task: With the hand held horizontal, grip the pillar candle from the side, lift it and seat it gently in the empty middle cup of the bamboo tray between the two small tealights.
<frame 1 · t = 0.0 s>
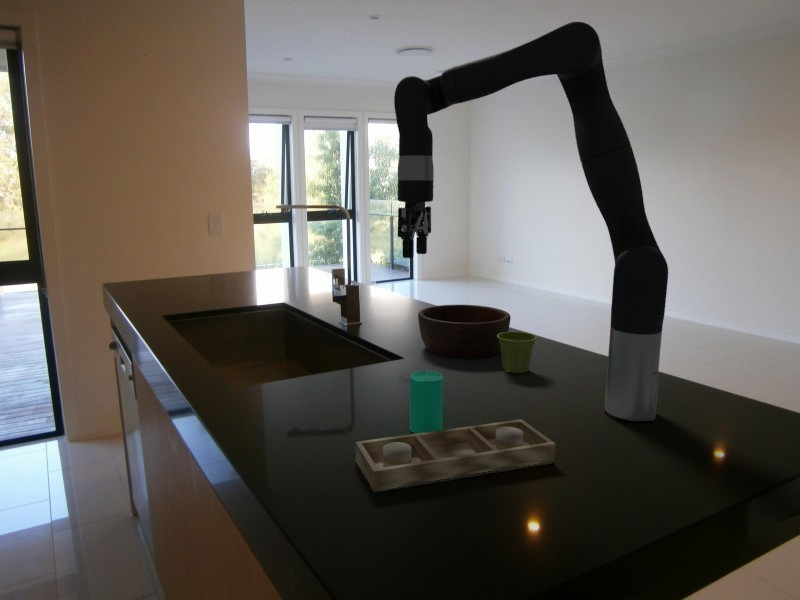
hand: (415, 255, 126), 29 cm above the worktop, tool pointing down, fingers open, 8 cm apart
plant pot: (515, 371, 144), on the worktop
tray: (454, 463, 95), on the worktop
candle: (425, 431, 108), on the worktop
wooden bowl: (463, 350, 162), on the worktop
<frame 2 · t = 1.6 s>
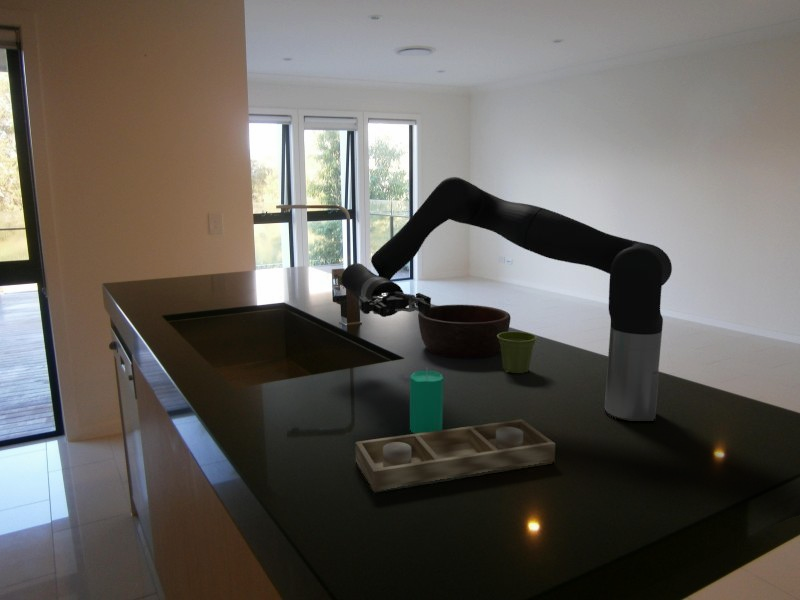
hand: (406, 310, 114), 20 cm above the worktop, tool horizontal, fingers open, 8 cm apart
nothing on the worktop moved.
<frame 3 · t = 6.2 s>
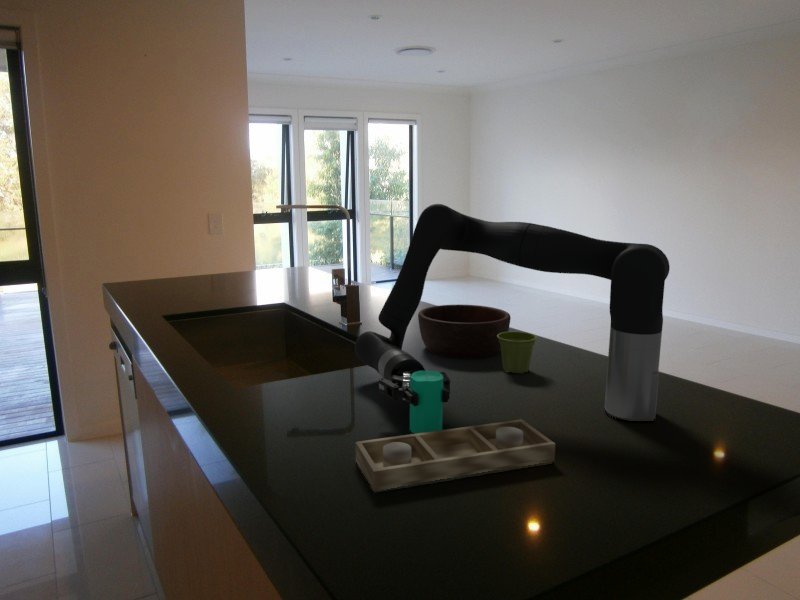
hand: (431, 398, 104), 7 cm above the worktop, tool horizontal, fingers closed on candle, 5 cm apart
candle: (425, 431, 108), on the worktop, touching gripper
everything else where it was.
when the fingers open (9 cm above the worktop, at t = 11.2 s): candle drops 1 cm, resting on tray.
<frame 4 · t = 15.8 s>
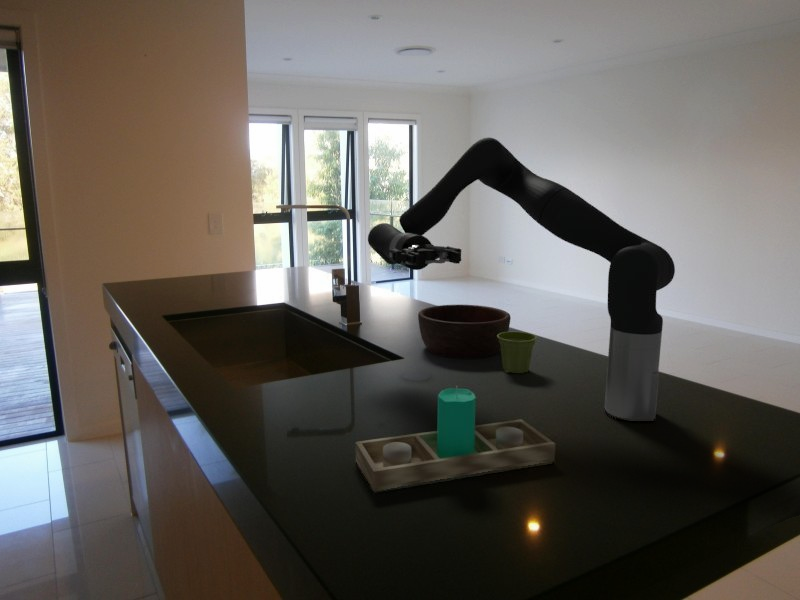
hand: (438, 259, 115), 30 cm above the worktop, tool horizontal, fingers open, 8 cm apart
candle: (455, 457, 95), point 1 cm above the worktop, touching tray
everything else where it was.
at the end: candle 0.3 cm off-centre on the tray, point 0.8 cm above the tray's base; candle tilted 0°; the gripper is holding nothing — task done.
